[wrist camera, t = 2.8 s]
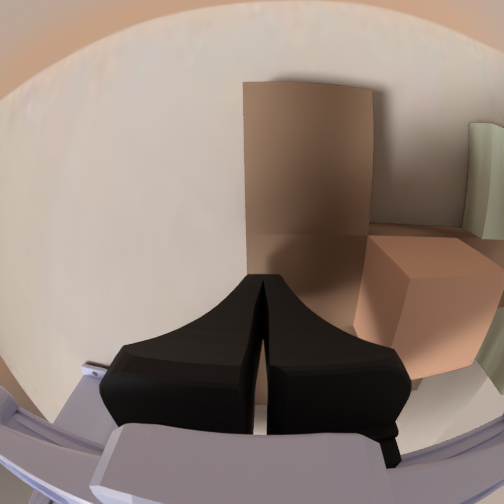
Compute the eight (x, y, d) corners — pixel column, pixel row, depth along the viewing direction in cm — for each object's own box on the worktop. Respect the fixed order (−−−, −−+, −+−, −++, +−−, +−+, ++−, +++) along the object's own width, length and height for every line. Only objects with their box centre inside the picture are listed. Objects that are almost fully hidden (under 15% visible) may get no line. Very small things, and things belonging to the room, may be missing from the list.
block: (353, 325, 12) (376, 385, 9) (367, 235, 11) (410, 278, 7) (435, 318, 12) (471, 365, 8) (456, 237, 10) (508, 272, 7)
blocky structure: (252, 381, 17) (248, 444, 12) (246, 92, 11) (233, 58, 6) (480, 353, 16) (508, 391, 11) (530, 148, 10) (581, 159, 5)
